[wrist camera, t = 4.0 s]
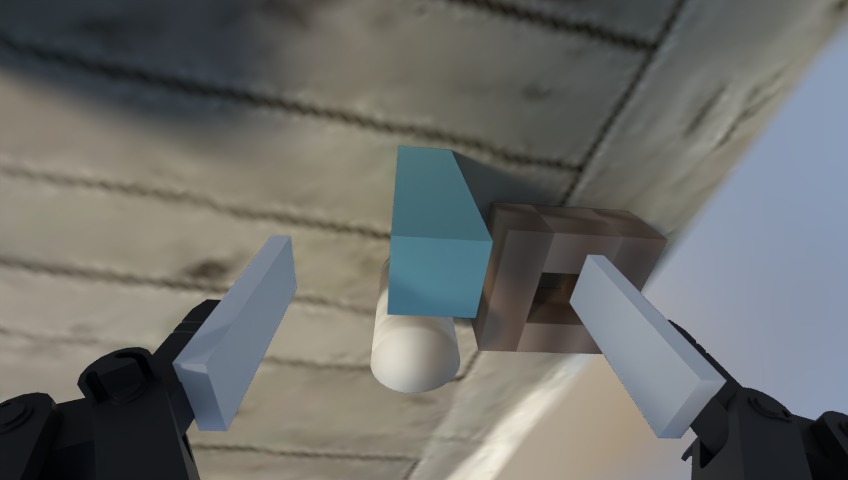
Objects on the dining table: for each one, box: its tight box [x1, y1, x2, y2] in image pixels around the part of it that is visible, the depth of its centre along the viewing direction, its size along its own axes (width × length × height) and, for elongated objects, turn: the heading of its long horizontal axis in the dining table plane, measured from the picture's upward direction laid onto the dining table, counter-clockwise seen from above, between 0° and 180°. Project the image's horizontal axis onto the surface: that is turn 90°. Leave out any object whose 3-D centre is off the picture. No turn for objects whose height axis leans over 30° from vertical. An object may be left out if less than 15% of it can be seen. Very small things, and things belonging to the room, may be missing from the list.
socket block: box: [471, 202, 667, 354], centre depth 29 cm, size 12×12×5 cm
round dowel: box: [371, 258, 460, 393], centre depth 26 cm, size 6×6×10 cm
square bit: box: [387, 146, 493, 318], centre depth 20 cm, size 4×4×14 cm
